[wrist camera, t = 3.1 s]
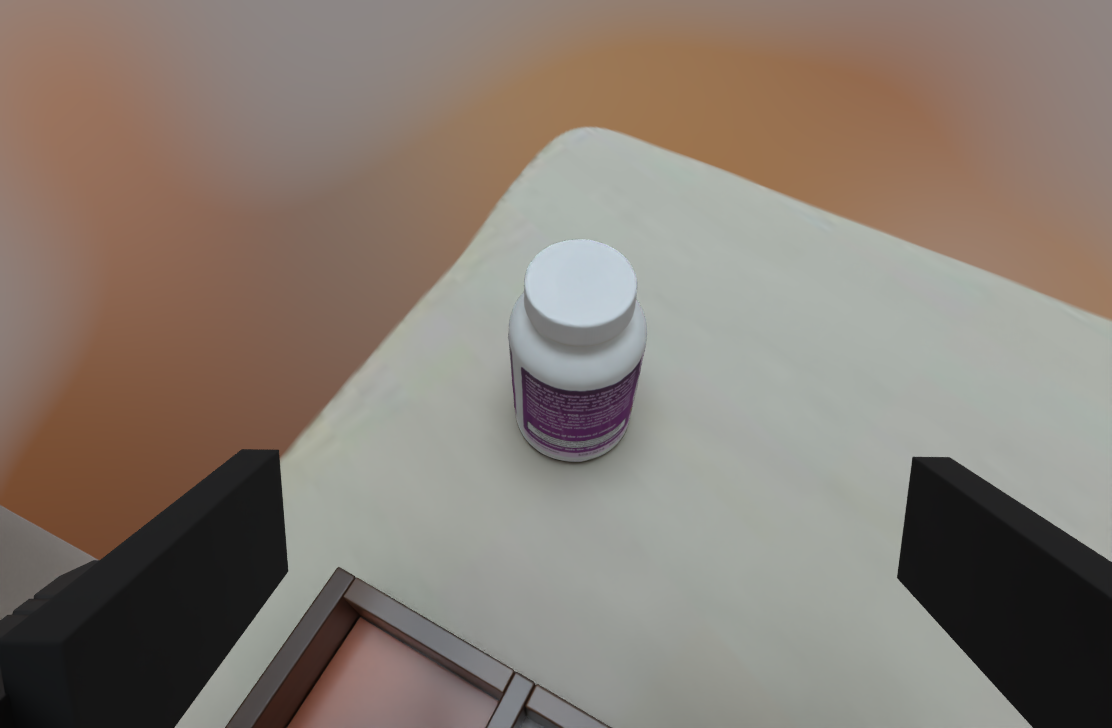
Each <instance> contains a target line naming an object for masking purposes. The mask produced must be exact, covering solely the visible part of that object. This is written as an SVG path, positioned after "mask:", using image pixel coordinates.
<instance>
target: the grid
mask: <svg viewBox="0 0 1112 728" xmlns="http://www.w3.org/2000/svg"><path fill="white" fill-rule="evenodd" d="M225 728H611V727H610V726H608V725H606V724H605V723H603V722H601V721H599V720H598V719H596V718H594V717H593V716H591V715H589V714H588V713H586V712H584V711H582V710H581V709H579V708H577V707H576V706H574V705H572V704H571V703H569V702H567V701H566V700H564V699H562V698H560V697H559V696H557V695H555V694H554V693H552V692H550V691H549V690H547V689H545V688H544V687H542V686H540V685H538V684H536V685H535V683H534V682H533V681H532V680H530V679H528V678H527V677H525V676H523V675H521V674H520V673H518V672H515V671H514V670H513V669H512V668H510V667H508V666H506V665H505V664H503V663H501V662H500V661H498V660H496V659H495V658H493V657H491V656H489V655H488V654H486V653H484V652H483V651H481V650H479V649H478V648H476V647H474V646H473V645H471V644H469V643H467V642H466V641H464V640H462V639H461V638H459V637H457V636H456V635H454V634H452V633H451V632H449V631H447V630H445V629H444V628H442V627H440V626H439V625H437V624H435V623H434V622H432V621H430V620H428V619H427V618H425V617H423V616H422V615H420V614H418V613H417V612H415V611H413V610H412V609H410V608H408V607H406V606H405V605H403V604H401V603H400V602H398V601H396V600H395V599H393V598H391V597H390V596H388V595H386V594H384V593H383V592H381V591H379V590H378V589H376V588H374V587H373V586H371V585H369V584H367V583H366V582H364V581H362V580H361V579H359V578H356V577H355V576H354V575H352V574H350V573H349V572H347V571H345V570H344V569H342V568H340V567H338V568H337V569H336V570H335V572H334V573H333V575H332V576H331V577H330V579H329V580H328V582H327V583H326V585H325V586H324V587H323V589H322V590H321V592H320V593H319V595H318V596H317V597H316V599H315V600H314V602H313V603H312V605H311V606H310V607H309V609H308V610H307V612H306V613H305V614H304V616H303V617H302V619H301V620H300V622H299V623H298V624H297V626H296V627H295V629H294V630H293V632H292V633H291V634H290V636H289V637H288V639H287V640H286V641H285V643H284V644H283V646H282V647H281V649H280V650H279V651H278V653H277V654H276V656H275V657H274V659H273V660H272V661H271V663H270V664H269V666H268V667H267V669H266V670H265V671H264V673H263V674H262V676H261V677H260V678H259V680H258V681H257V683H256V684H255V686H254V687H253V688H252V690H251V691H250V693H249V694H248V696H247V697H246V698H245V700H244V701H243V703H242V704H241V706H240V707H239V708H238V710H237V711H236V713H235V714H234V715H233V717H232V718H231V720H230V721H229V723H228V724H227V725H226V727H225Z"/></svg>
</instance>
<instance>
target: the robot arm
mask: <svg viewBox="0 0 1112 728" xmlns="http://www.w3.org/2000/svg"><path fill="white" fill-rule="evenodd" d="M287 572H288V561H287V549H286V536H285V523H284V510H283V497H282V485H281V472H280V459H279V450H251V449H248V450H247V449H242V450H240V451H239V452H238V453H237V454H235V455H234V456H233V457H231V458H230V459H229V460H228V461H226V462H225V463H224V464H223V465H221V466H220V467H219V468H217V469H216V470H215V471H213V472H212V473H211V474H210V475H208V476H207V477H206V478H205V479H203V480H202V481H201V482H199V483H198V484H197V485H196V486H195V487H193V488H192V489H190V490H189V491H188V492H187V493H185V494H184V495H183V496H182V497H180V498H179V499H178V500H176V501H175V502H174V503H173V504H171V505H170V506H169V507H168V508H166V509H165V510H164V511H162V512H161V513H160V514H159V515H157V516H156V517H155V518H154V519H152V520H151V521H150V522H148V523H147V524H146V525H144V526H143V527H142V528H141V529H139V530H138V531H137V532H135V533H134V534H133V535H132V536H130V537H129V538H128V539H126V540H125V541H124V542H123V543H121V544H120V545H119V546H118V547H116V548H115V549H114V550H112V551H111V552H110V553H109V554H107V555H106V556H105V557H104V558H102V559H101V560H100V561H96V560H93V561H91V562H89V563H87V564H85V565H83V566H80V567H78V568H76V569H74V570H72V571H70V572H68V573H65V574H63V575H61V576H59V577H58V578H56V579H55V580H54V581H52V582H51V583H50V584H48V585H47V586H46V587H44V588H43V589H42V590H40V591H39V592H38V593H36V594H35V595H34V599H28V600H27V601H26V602H24V603H23V604H22V605H20V606H19V607H18V608H16V609H15V610H14V611H13V614H12V615H7V616H6V617H4V618H3V619H2V620H0V728H174V727H175V726H176V724H177V723H178V722H179V720H180V719H181V718H182V716H183V715H184V714H185V712H186V711H187V709H188V708H189V707H190V705H191V704H192V703H193V701H194V700H195V698H196V697H197V696H198V694H199V693H200V692H201V690H202V689H203V687H204V686H205V685H206V683H207V682H208V681H209V679H210V678H211V676H212V675H213V674H214V672H215V671H216V670H217V668H218V667H219V666H220V664H221V663H222V661H223V660H224V659H225V657H226V656H227V655H228V653H229V652H230V650H231V649H232V648H233V646H234V645H235V644H236V642H237V641H238V639H239V638H240V637H241V635H242V634H243V633H244V631H245V630H246V629H247V627H248V626H249V624H250V623H251V622H252V620H253V619H254V618H255V616H256V615H257V613H258V612H259V611H260V609H261V608H262V607H263V605H264V604H265V602H266V601H267V600H268V598H269V597H270V596H271V594H272V593H273V592H274V590H275V589H276V587H277V586H278V585H279V583H280V582H281V581H282V579H283V578H284V576H285V575H286V574H287ZM897 578H898V579H899V581H900V582H901V583H902V584H903V585H904V586H905V587H906V588H907V589H908V590H909V592H910V593H911V594H912V595H913V596H914V597H915V598H916V599H917V600H918V601H919V603H920V604H921V605H922V606H923V607H924V608H925V609H926V610H927V611H928V613H929V614H930V615H931V616H932V617H933V618H934V619H935V620H936V621H937V622H938V624H939V625H940V626H941V627H942V628H943V629H944V630H945V631H946V632H947V633H948V635H949V636H950V637H951V638H952V639H953V640H954V641H955V642H956V643H957V644H958V646H959V647H960V648H961V649H962V650H963V651H964V652H965V653H966V654H967V655H968V657H969V658H970V659H971V660H972V661H973V662H974V663H975V664H976V665H977V666H978V668H979V669H980V670H981V671H982V672H983V673H984V674H985V675H986V676H987V677H988V679H989V680H990V681H991V682H992V683H993V684H994V685H995V686H996V687H997V689H998V690H999V691H1000V692H1001V693H1002V694H1003V695H1004V696H1005V697H1006V698H1007V700H1008V701H1009V702H1010V703H1011V704H1012V705H1013V706H1014V707H1015V708H1016V709H1017V711H1018V712H1019V713H1020V714H1021V715H1022V716H1023V717H1024V718H1025V719H1026V720H1027V722H1028V723H1029V724H1030V725H1031V726H1032V727H1033V728H1112V562H1111V561H1109V560H1107V559H1106V558H1104V557H1103V556H1101V555H1100V554H1098V553H1097V552H1095V551H1094V550H1092V549H1090V548H1089V547H1087V546H1086V545H1084V544H1083V543H1081V542H1080V541H1078V540H1077V539H1075V538H1073V537H1072V536H1070V535H1069V534H1067V533H1066V532H1064V531H1063V530H1061V529H1060V528H1058V527H1056V526H1055V525H1053V524H1052V523H1050V522H1049V521H1047V520H1046V519H1044V518H1043V517H1041V516H1039V515H1038V514H1036V513H1035V512H1033V511H1032V510H1030V509H1029V508H1027V507H1026V506H1024V505H1022V504H1021V503H1019V502H1018V501H1016V500H1015V499H1013V498H1012V497H1010V496H1009V495H1007V494H1005V493H1004V492H1002V491H1001V490H999V489H998V488H996V487H995V486H993V485H992V484H990V483H988V482H987V481H985V480H984V479H982V478H981V477H979V476H978V475H976V474H975V473H973V472H971V471H970V470H968V469H967V468H965V467H964V466H962V465H961V464H959V463H958V462H956V461H954V460H953V459H951V458H950V457H913V458H912V466H911V474H910V481H909V489H908V497H907V505H906V513H905V520H904V528H903V536H902V544H901V552H900V559H899V567H898V575H897Z"/></svg>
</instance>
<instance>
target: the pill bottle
mask: <svg viewBox="0 0 1112 728" xmlns="http://www.w3.org/2000/svg"><path fill="white" fill-rule="evenodd" d="M636 295H637V279H636V274H635V272H634V269H633V268H632V265H631V264H630V262H629V261H628V260H627V259H626V257H625V256H624V255H622V254H621V253H620V252H619V251H617V250H616V249H614V248H612V247H610V246H608V245H606V244H604V243H601V242H597V241H594V240H587V239H572V240H565V241H562V242H558V243H555V244H552V245H550V246H548V247H546V248H545V249H543V250H542V251H541V252H539V253H538V254H537V255H536V256H535V257H534V259H533V260H532V261H531V263H530V264H529V266H528V268H527V271H526V274H525V279H524V292H523V293H522V295H521V296H520V297H519V299H518V300H517V302H516V303H515V305H514V308H513V310H512V313H511V317H510V321H509V333H508V339H509V347H510V360H511V373H512V385H513V394H514V407H515V413H516V419H517V423H518V426H519V428H520V431H521V433H522V435H523V436H524V437H525V439H526V440H527V441H528V442H529V443H530V444H531V445H532V446H533V447H534V448H535V449H537V450H538V451H539V452H541V453H542V454H544V455H546V456H548V457H551V458H554V459H558V460H563V461H571V462H581V461H586V460H589V459H593V458H595V457H598V456H601V455H603V454H604V453H606V452H608V451H609V450H610V449H612V448H613V447H614V446H615V445H617V443H618V442H619V441H620V439H621V438H622V437H623V435H624V433H625V431H626V429H627V426H628V423H629V419H630V415H631V411H632V407H633V401H634V398H635V394H636V390H637V386H638V379H639V375H640V369H641V365H642V360H643V356H644V352H645V346H646V339H647V324H646V319H645V315H644V312H643V310H642V307H641V305H640V304H639V302H638V300H637V299H636Z"/></svg>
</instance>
